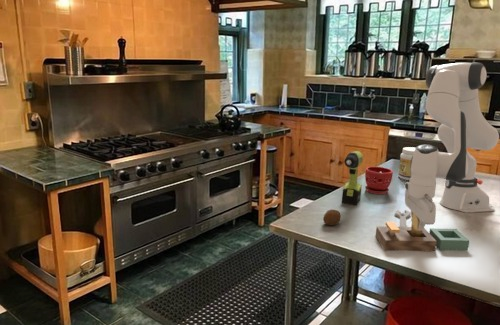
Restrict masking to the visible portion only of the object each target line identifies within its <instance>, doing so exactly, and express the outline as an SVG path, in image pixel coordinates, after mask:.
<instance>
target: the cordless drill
mask: <svg viewBox="0 0 500 325" xmlns="http://www.w3.org/2000/svg"><path fill="white" fill-rule="evenodd" d="M363 162H364V155H363V153H362V152H361V151H358V150H354V151H351V152H349V153H348V154H347V155H346V156H345V158H344V165H345V166H346V167H347V168H348V170H349V180H348V181H349V182H346V184H345V185H344V187H343V190H342V195H341V203H342V204H344V205H353V206H357V205H358V204H359V202H360V201H361V196H362V184H360V183H358V169H359V167H360V165H362V163H363Z"/></svg>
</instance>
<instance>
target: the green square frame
mask: <svg viewBox="0 0 500 325" xmlns="http://www.w3.org/2000/svg"><path fill="white" fill-rule="evenodd" d="M428 232H429V233H430V235H431V236H432V237H433V238H434V239H435V240H436V241H437V243H436V249H438V250H439V251H455V252H456V251H460V252H461V251H469V246H470V239H468V238H467V237H466V236H465V234H463V233H462V232H460V230H458V229H457V228H433V227H432V228H429V231H428Z"/></svg>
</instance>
